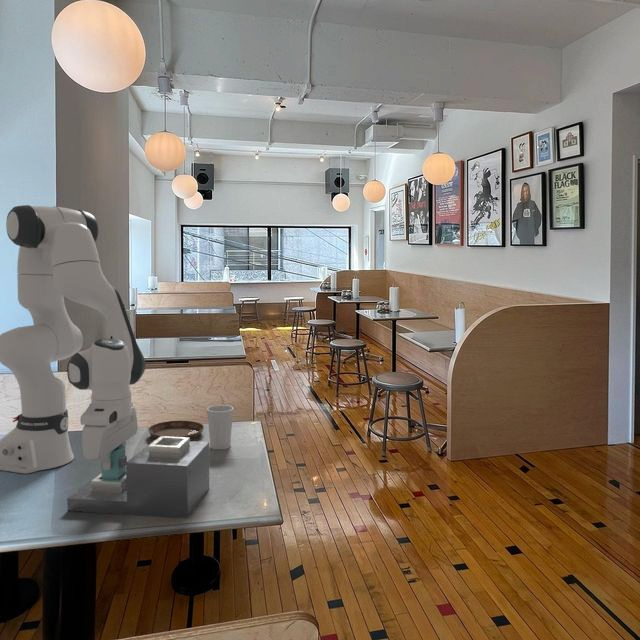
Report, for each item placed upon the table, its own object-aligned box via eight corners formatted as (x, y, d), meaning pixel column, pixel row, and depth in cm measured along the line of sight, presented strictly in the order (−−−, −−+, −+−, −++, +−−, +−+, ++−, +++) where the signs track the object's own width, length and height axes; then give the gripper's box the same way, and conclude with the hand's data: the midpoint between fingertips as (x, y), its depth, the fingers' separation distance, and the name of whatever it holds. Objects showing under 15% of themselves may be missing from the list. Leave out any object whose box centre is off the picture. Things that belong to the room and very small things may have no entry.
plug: (101, 484, 125) (100, 443, 124) (110, 477, 129) (109, 437, 128) (121, 485, 125) (120, 443, 124) (129, 478, 129) (128, 438, 128)
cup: (238, 445, 166) (238, 407, 165) (221, 452, 159) (220, 413, 158) (219, 440, 170) (219, 403, 169) (201, 447, 163) (201, 409, 162)
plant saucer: (202, 426, 185) (202, 418, 185) (205, 443, 168) (205, 433, 168) (149, 430, 180) (149, 421, 180) (147, 447, 163) (147, 437, 163)
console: (67, 511, 120) (65, 449, 119) (102, 482, 136) (101, 427, 134) (187, 518, 118) (187, 454, 116) (209, 488, 133) (208, 432, 132)
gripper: (119, 396, 136) (120, 449, 137) (75, 419, 115) (77, 480, 117) (143, 397, 135) (144, 450, 137) (103, 420, 115) (105, 482, 116)
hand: (113, 464), depth 127 cm, fingers closed on plug, 4 cm apart
